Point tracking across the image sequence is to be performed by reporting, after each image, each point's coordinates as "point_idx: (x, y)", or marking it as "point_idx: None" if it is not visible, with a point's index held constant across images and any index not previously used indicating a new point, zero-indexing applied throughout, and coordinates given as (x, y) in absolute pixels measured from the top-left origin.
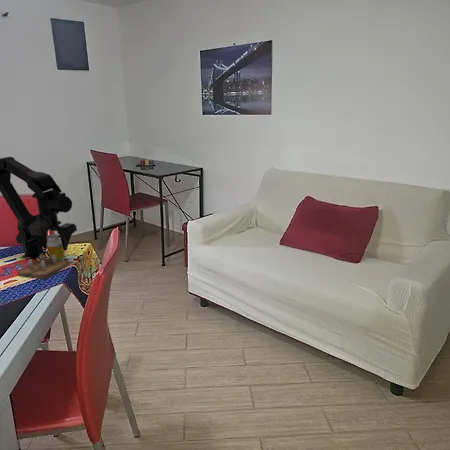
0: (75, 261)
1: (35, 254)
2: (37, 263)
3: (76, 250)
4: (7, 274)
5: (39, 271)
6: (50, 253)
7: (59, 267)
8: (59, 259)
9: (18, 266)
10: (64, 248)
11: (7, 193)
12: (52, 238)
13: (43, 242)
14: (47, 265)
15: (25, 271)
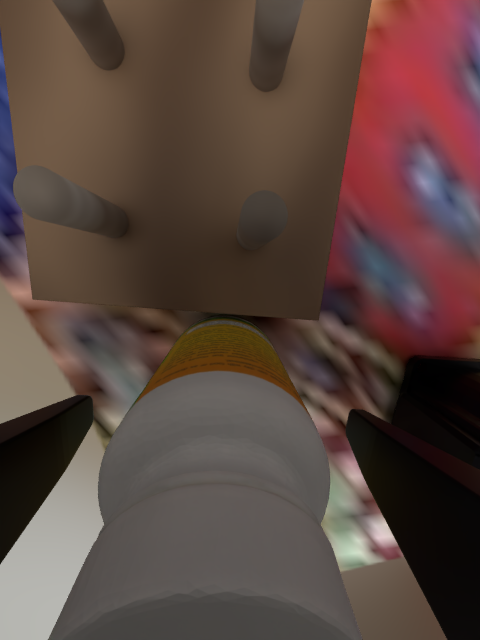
0: (66, 358)
1: (432, 391)
2: (298, 213)
3: None
4: (475, 39)
5: (138, 7)
6: (230, 336)
7: (20, 161)
8: (176, 341)
9: (463, 215)
10: (43, 408)
11: None
12: (111, 573)
13: (410, 478)
14: (166, 179)
15: None
